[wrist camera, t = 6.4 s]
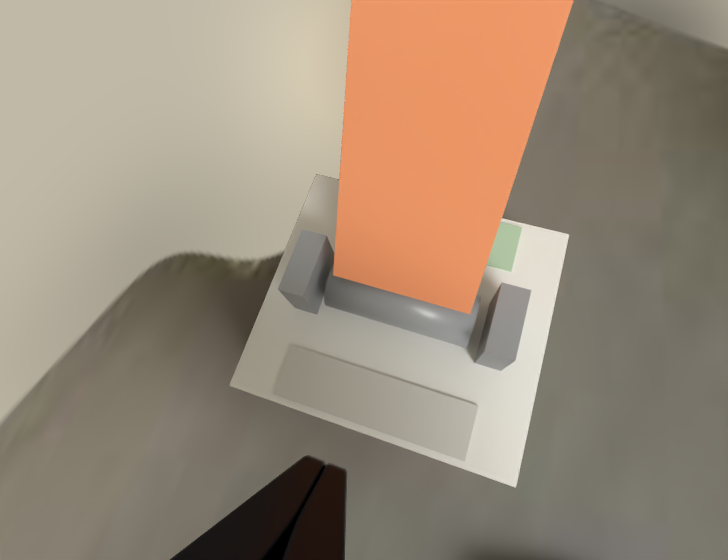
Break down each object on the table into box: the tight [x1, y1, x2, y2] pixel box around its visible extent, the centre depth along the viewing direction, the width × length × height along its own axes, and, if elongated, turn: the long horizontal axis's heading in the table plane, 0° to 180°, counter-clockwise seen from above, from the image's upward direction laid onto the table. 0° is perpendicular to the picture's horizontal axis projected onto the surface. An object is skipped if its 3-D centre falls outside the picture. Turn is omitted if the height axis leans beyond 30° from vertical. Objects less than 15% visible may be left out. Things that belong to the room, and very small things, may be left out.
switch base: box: [229, 174, 569, 487], centre depth 15 cm, size 8×9×6 cm
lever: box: [324, 0, 573, 348], centre depth 11 cm, size 2×4×11 cm
